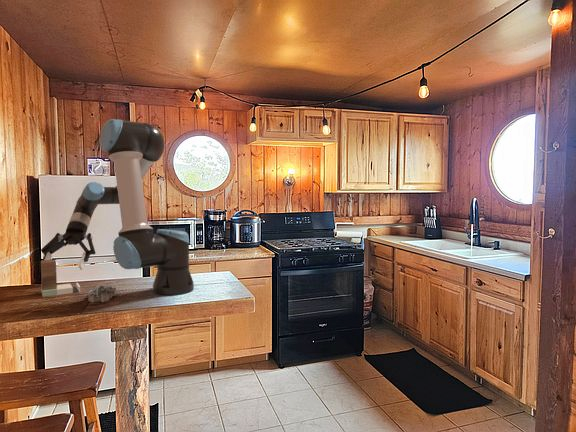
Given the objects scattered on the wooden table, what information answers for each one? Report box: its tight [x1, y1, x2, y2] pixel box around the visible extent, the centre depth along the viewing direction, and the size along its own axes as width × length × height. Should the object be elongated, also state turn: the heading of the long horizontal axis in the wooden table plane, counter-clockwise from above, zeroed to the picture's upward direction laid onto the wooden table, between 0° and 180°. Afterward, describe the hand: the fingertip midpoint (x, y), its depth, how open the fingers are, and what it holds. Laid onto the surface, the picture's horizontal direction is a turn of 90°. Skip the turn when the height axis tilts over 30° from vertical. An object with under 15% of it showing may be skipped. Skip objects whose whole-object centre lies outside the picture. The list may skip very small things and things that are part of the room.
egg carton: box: [86, 284, 117, 303], centre depth 140 cm, size 11×8×4 cm
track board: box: [40, 282, 81, 297], centre depth 146 cm, size 7×12×2 cm, turn 125°
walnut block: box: [40, 259, 58, 290], centre depth 144 cm, size 4×4×10 cm
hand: (62, 268), depth 154 cm, fingers open, 13 cm apart
